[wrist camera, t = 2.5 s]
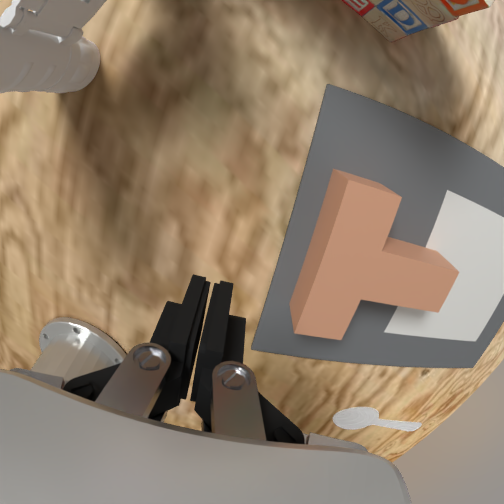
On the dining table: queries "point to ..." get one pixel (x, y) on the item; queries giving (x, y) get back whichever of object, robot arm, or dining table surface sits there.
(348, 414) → the spoon
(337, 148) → the mat
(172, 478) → the robot arm
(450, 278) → the t block
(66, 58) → the binoculars
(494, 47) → the dining table surface
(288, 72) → the dining table surface
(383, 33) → the stack of blocks
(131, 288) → the dining table surface
